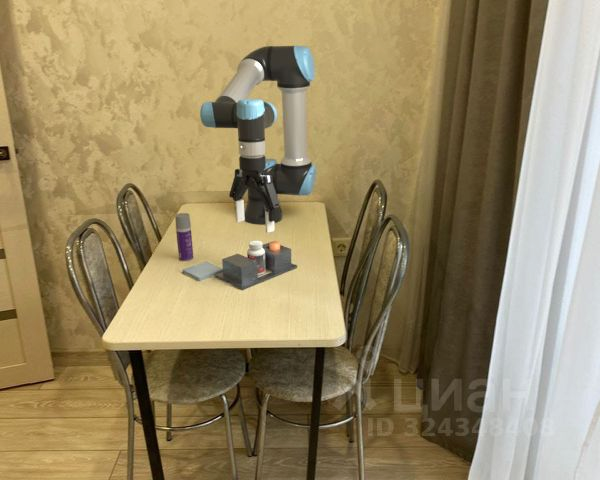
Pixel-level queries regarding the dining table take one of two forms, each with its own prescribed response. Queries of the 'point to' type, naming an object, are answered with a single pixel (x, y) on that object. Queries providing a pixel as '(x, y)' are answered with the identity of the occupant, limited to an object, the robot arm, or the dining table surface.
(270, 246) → the orange oval piece
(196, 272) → the pad
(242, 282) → the housing
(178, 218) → the container
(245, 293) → the dining table surface
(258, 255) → the pill bottle
